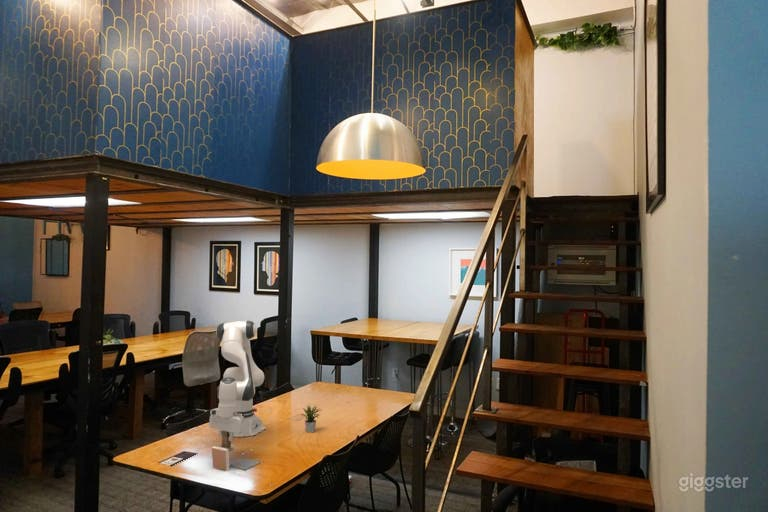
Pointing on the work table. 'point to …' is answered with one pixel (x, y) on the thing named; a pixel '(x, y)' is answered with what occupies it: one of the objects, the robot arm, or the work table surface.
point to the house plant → (310, 418)
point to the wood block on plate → (225, 441)
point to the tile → (220, 458)
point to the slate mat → (244, 464)
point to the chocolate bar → (178, 458)
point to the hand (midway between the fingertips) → (226, 439)
